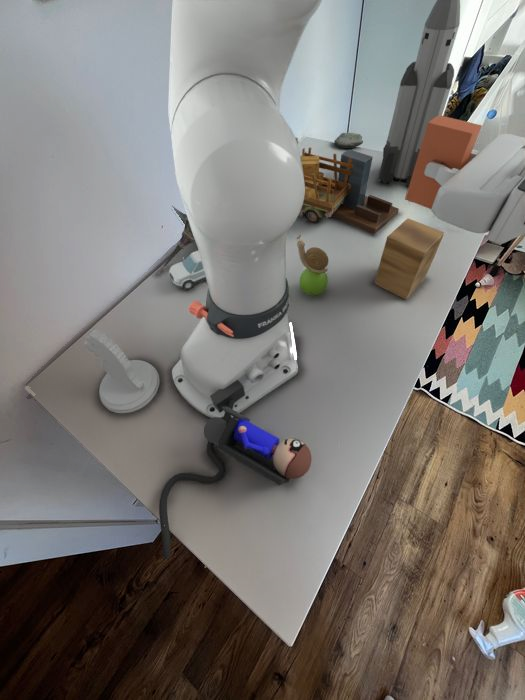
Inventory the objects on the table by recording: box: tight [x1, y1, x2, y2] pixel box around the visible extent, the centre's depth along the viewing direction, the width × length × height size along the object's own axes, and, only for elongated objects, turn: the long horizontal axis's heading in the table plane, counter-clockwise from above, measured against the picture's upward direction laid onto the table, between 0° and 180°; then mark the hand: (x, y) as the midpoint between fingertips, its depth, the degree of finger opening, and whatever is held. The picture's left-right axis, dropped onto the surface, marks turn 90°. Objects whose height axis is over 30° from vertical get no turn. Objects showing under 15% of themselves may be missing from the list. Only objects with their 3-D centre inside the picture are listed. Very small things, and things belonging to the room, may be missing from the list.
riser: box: [373, 217, 445, 300], centre depth 63 cm, size 7×7×11 cm
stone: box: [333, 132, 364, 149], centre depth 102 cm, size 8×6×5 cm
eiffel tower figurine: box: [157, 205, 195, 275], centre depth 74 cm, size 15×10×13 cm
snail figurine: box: [296, 233, 330, 296], centre depth 63 cm, size 5×6×12 cm
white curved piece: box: [83, 328, 161, 414], centre depth 51 cm, size 10×10×15 cm
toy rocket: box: [378, 0, 461, 187], centre depth 75 cm, size 12×9×35 cm
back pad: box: [404, 115, 483, 210], centre depth 49 cm, size 3×6×11 cm, turn 47°
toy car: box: [169, 250, 206, 290], centre depth 70 cm, size 6×13×5 cm, turn 119°
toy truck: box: [295, 136, 353, 224], centre depth 79 cm, size 11×25×15 cm, turn 55°
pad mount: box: [331, 148, 400, 235], centre depth 77 cm, size 10×14×12 cm
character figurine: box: [203, 407, 313, 486], centre depth 46 cm, size 8×7×15 cm
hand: (435, 160), depth 49 cm, fingers closed on back pad, 3 cm apart
